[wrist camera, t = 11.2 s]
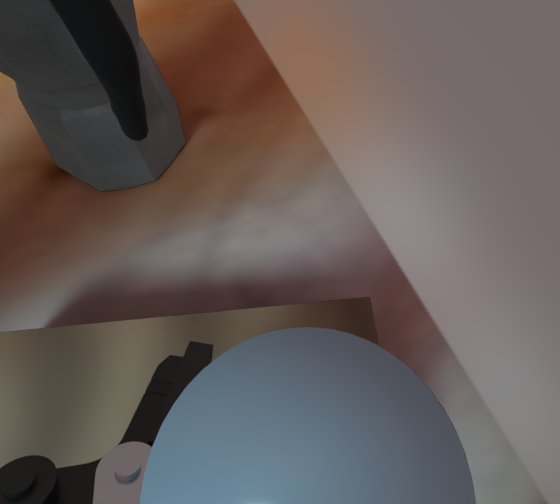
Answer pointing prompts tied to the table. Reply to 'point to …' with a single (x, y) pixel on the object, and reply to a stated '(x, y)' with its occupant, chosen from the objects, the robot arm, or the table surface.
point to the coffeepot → (91, 89)
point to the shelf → (123, 371)
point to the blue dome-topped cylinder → (307, 429)
